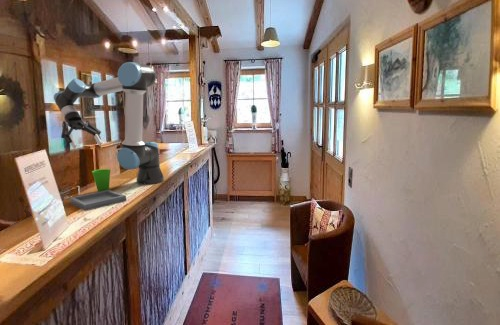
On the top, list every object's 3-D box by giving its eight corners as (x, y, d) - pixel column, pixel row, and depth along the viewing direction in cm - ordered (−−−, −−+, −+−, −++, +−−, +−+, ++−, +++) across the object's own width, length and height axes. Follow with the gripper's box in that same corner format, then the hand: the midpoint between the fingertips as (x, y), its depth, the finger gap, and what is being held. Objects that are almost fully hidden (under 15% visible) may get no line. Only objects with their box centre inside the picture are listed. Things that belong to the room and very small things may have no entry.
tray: (109, 194, 160) (108, 189, 160) (126, 200, 148) (125, 195, 148) (70, 203, 147) (69, 197, 147) (85, 210, 135) (84, 205, 135)
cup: (105, 193, 162) (103, 172, 160) (90, 193, 164) (87, 172, 162) (116, 189, 170) (114, 169, 169) (101, 189, 172) (99, 168, 170)
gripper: (91, 119, 186) (108, 147, 180) (44, 121, 166) (61, 153, 160) (96, 110, 182) (112, 139, 176) (48, 111, 162) (65, 143, 156)
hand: (88, 145), depth 168 cm, fingers open, 13 cm apart
